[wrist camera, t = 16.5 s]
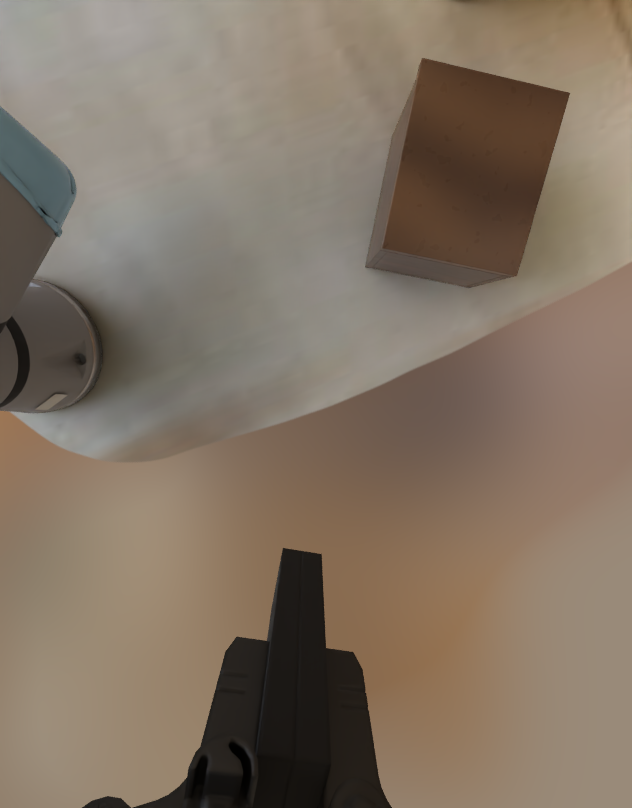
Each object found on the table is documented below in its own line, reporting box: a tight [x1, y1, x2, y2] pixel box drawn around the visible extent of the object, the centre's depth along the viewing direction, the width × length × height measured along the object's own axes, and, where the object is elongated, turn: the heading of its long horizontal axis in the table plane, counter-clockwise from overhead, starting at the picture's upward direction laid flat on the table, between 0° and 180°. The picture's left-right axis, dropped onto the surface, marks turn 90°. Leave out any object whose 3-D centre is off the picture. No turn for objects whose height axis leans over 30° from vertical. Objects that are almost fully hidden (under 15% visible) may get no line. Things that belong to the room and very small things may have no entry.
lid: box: [380, 58, 570, 277], centre depth 30 cm, size 14×12×1 cm
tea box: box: [365, 80, 510, 288], centre depth 34 cm, size 13×12×9 cm
